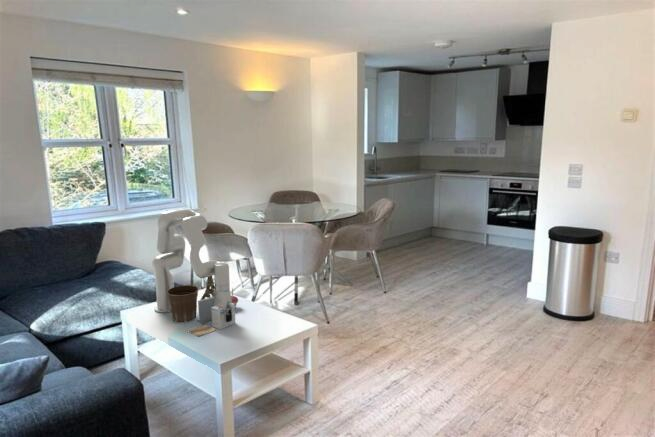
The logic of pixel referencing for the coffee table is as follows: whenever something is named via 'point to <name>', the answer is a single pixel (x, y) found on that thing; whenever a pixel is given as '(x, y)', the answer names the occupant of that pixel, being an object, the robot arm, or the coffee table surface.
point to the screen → (205, 310)
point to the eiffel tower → (208, 290)
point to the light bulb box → (221, 317)
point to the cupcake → (234, 299)
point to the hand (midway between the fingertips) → (223, 319)
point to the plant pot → (183, 303)
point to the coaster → (201, 330)
